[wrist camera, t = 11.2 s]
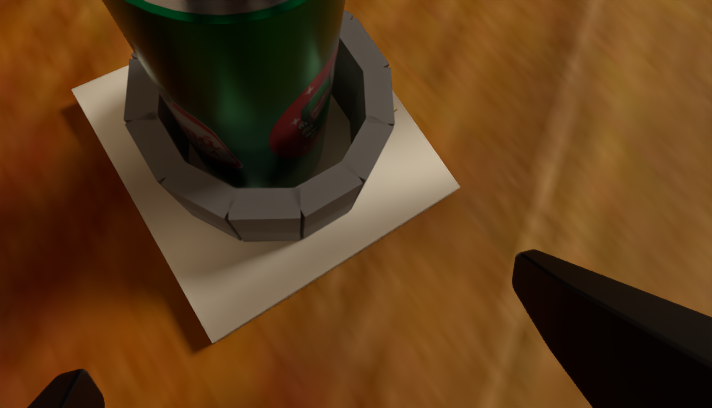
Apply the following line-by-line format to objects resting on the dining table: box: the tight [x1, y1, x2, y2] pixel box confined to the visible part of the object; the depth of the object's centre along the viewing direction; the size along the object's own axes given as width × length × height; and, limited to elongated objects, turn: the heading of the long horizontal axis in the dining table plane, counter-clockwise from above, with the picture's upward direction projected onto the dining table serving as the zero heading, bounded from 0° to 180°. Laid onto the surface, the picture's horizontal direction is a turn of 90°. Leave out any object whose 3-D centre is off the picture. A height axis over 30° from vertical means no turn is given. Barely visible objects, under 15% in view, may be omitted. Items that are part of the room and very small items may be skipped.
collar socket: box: [72, 10, 460, 343], centre depth 16 cm, size 12×12×5 cm
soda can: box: [102, 0, 345, 189], centre depth 12 cm, size 5×5×12 cm
